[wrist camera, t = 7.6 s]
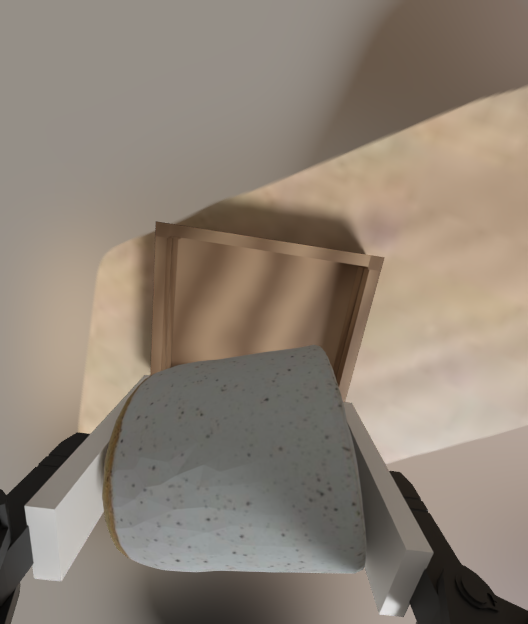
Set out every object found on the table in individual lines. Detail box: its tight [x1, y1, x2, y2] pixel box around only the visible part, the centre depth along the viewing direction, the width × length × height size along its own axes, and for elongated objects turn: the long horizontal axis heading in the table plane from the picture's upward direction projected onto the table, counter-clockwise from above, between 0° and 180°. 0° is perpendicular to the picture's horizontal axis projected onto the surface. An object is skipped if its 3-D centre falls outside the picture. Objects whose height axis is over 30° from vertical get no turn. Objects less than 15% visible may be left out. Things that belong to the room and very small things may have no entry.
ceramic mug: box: [102, 345, 367, 573], centre depth 11 cm, size 11×8×8 cm
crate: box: [150, 222, 384, 402], centre depth 26 cm, size 20×18×4 cm
